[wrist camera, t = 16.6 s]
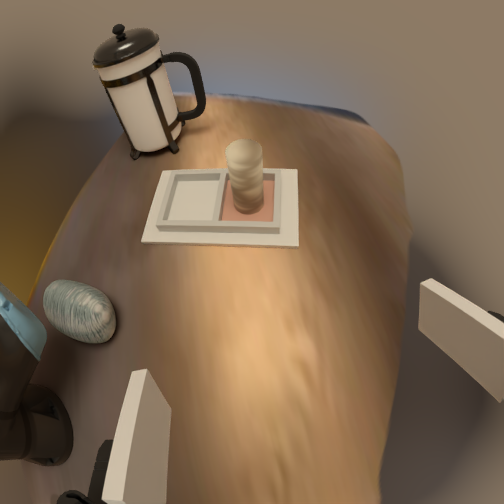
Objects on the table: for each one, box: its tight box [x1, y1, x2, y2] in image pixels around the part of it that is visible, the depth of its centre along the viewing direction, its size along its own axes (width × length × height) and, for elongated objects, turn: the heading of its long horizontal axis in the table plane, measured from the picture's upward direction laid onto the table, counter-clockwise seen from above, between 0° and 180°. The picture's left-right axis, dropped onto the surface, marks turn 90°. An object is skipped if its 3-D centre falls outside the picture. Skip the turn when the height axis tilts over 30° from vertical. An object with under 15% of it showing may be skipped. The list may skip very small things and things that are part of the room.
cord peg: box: [225, 139, 264, 215], centre depth 43 cm, size 5×5×12 cm
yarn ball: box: [43, 280, 116, 343], centre depth 39 cm, size 14×10×10 cm
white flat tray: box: [141, 169, 299, 249], centre depth 49 cm, size 26×16×3 cm, turn 86°
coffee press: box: [92, 24, 206, 160], centre depth 47 cm, size 17×16×30 cm
